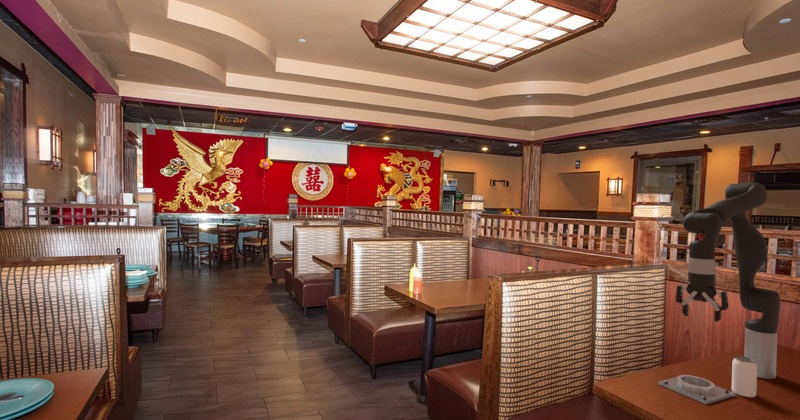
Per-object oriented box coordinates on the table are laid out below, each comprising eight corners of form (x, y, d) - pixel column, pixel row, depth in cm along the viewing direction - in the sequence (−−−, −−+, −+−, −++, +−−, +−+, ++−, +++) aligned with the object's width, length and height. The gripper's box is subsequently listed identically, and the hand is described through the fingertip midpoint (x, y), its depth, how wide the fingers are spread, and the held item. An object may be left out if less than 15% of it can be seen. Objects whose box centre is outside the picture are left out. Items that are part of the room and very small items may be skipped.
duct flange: (685, 377, 152) (686, 369, 152) (735, 396, 137) (735, 387, 137) (658, 384, 145) (658, 376, 145) (706, 404, 131) (706, 395, 131)
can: (760, 399, 135) (761, 363, 135) (738, 396, 136) (739, 361, 136) (748, 390, 141) (749, 356, 141) (727, 388, 143) (728, 354, 143)
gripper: (730, 273, 134) (730, 321, 134) (680, 267, 145) (680, 312, 145) (724, 275, 129) (724, 325, 129) (673, 269, 140) (673, 316, 140)
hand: (701, 318), depth 137 cm, fingers open, 8 cm apart
